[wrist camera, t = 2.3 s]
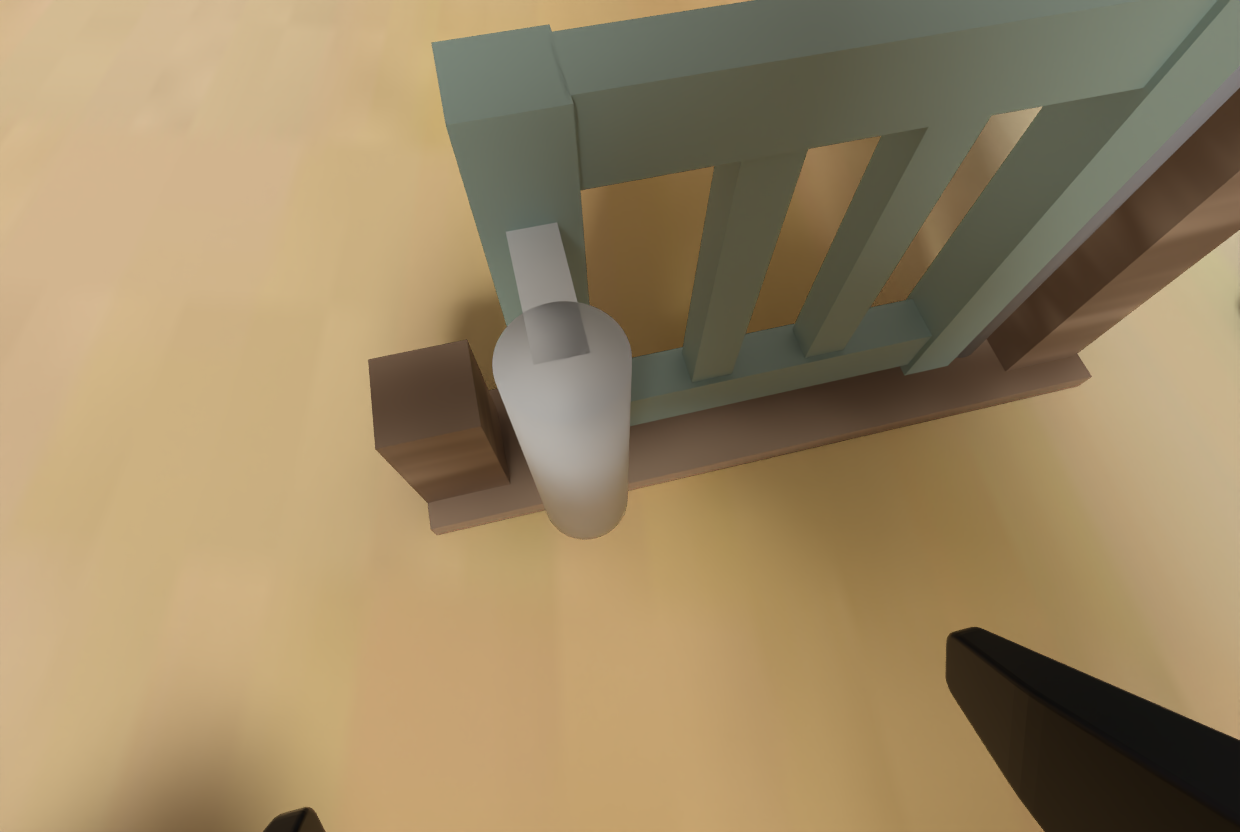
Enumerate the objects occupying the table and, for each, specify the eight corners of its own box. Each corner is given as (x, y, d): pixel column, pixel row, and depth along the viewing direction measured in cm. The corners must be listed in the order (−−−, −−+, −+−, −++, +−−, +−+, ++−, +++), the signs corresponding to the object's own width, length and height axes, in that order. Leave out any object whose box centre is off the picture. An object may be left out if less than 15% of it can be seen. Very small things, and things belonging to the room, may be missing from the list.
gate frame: (1078, 385, 25) (1813, -122, 10) (437, 535, 22) (33, 170, 7) (1016, 288, 27) (1541, -262, 12) (422, 414, 25) (86, -74, 9)
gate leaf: (1041, 455, 22) (1608, 124, 9) (563, 572, 20) (469, 358, 8) (961, 315, 25) (1323, -95, 12) (530, 408, 23) (419, 44, 10)
